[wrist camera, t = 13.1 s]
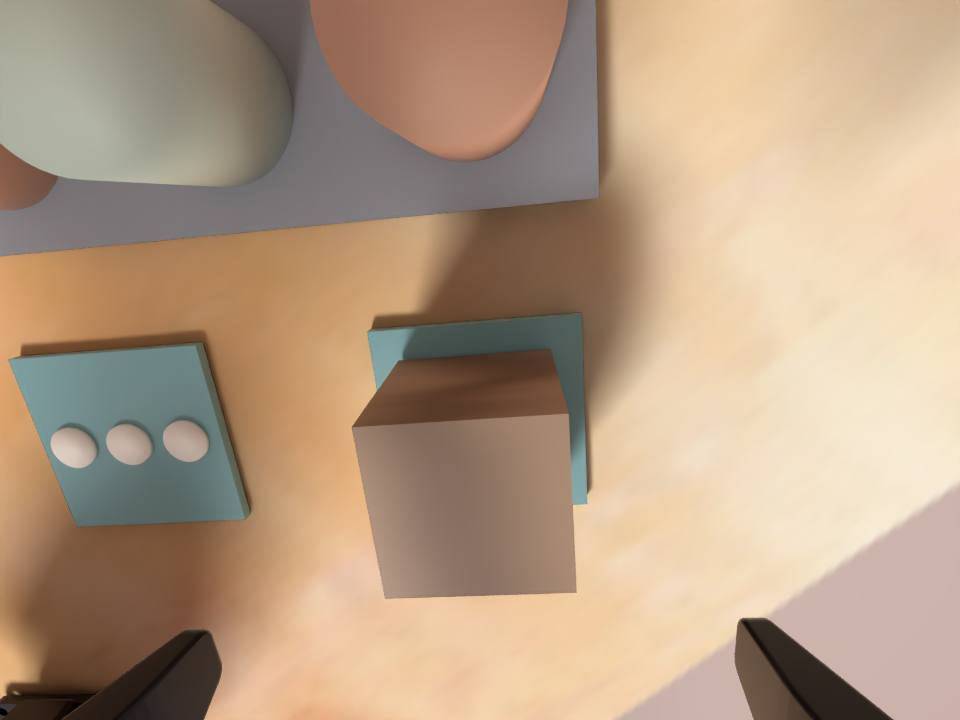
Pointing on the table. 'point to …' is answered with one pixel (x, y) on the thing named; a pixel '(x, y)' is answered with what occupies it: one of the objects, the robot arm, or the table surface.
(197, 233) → the board
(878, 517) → the table surface
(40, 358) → the pad three
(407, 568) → the brown cube
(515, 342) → the pad two
